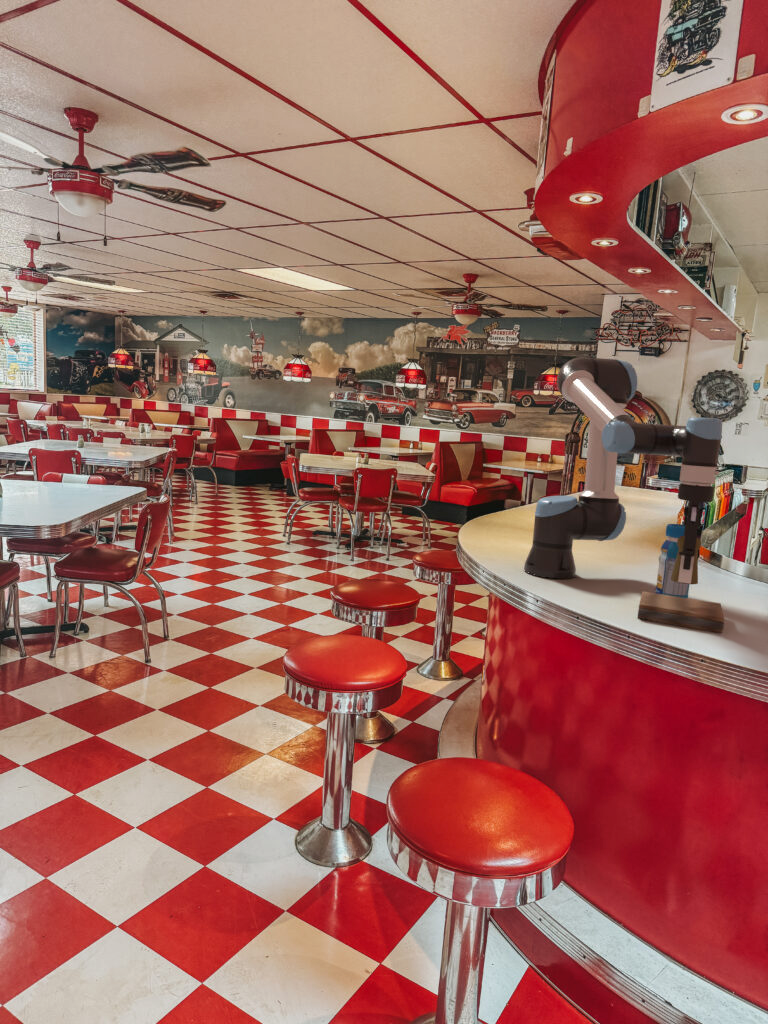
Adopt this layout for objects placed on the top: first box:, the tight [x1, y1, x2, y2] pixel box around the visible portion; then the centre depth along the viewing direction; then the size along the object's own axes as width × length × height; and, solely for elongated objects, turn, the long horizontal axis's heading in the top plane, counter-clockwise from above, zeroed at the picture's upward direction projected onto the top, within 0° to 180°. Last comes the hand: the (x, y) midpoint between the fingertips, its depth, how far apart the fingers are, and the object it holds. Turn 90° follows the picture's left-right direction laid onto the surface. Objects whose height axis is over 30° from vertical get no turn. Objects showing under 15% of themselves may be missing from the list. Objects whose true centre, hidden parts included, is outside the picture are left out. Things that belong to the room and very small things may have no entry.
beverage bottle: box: [654, 523, 691, 599], centre depth 172 cm, size 8×8×20 cm
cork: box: [671, 536, 702, 585], centre depth 154 cm, size 6×6×11 cm
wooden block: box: [637, 591, 725, 634], centre depth 155 cm, size 18×15×4 cm
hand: (684, 579), depth 154 cm, fingers closed on cork, 6 cm apart
